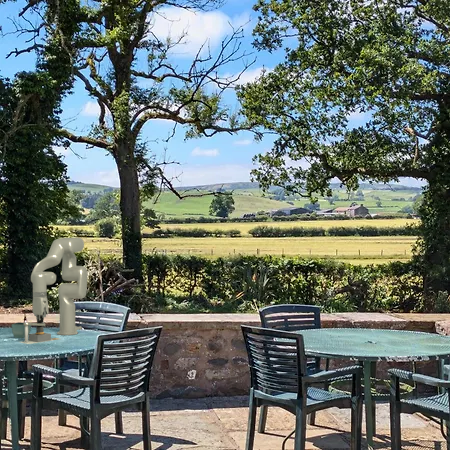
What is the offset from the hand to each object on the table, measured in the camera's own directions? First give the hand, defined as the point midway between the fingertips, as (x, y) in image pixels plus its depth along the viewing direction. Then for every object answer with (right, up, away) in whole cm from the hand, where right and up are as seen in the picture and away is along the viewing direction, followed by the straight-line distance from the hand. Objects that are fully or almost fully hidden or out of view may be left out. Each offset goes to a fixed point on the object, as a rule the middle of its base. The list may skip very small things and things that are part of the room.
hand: (40, 326), depth 400 cm
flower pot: (-16, -10, +18) cm, 26 cm away
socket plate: (-3, -9, +4) cm, 11 cm away
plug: (-2, -9, +6) cm, 11 cm away
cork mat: (+5, -10, +12) cm, 16 cm away
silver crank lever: (-3, +1, -2) cm, 4 cm away
